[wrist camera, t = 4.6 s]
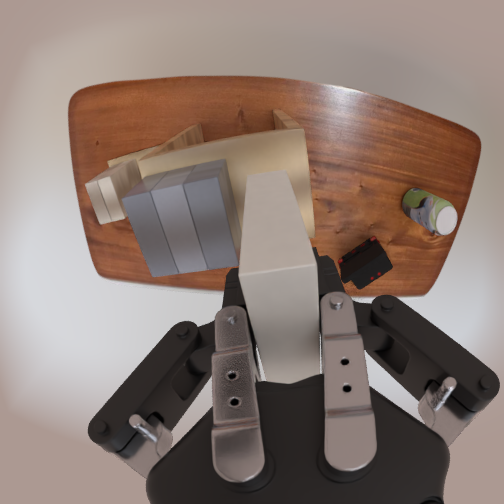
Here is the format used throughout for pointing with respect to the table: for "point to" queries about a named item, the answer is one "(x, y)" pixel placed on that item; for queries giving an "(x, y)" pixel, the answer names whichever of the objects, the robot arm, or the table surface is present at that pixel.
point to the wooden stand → (210, 194)
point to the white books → (115, 186)
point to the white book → (279, 279)
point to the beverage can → (430, 211)
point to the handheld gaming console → (364, 263)
